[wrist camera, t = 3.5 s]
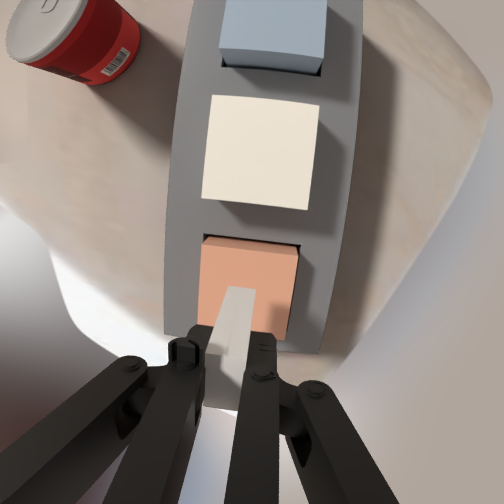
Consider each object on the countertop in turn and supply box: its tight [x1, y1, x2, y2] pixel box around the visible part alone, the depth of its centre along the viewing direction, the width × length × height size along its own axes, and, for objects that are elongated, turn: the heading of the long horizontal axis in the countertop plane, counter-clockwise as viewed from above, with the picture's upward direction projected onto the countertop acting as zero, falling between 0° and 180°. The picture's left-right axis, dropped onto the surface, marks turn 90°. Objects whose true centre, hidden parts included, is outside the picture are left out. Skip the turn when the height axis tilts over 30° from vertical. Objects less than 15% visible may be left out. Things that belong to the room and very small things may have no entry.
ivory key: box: [201, 95, 319, 210], centre depth 19 cm, size 6×6×5 cm
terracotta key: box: [197, 234, 298, 340], centre depth 23 cm, size 6×6×5 cm
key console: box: [164, 0, 363, 354], centre depth 23 cm, size 28×12×6 cm, turn 174°
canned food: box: [5, 0, 141, 85], centre depth 18 cm, size 8×8×11 cm
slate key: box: [219, 0, 327, 76], centre depth 17 cm, size 6×6×5 cm
